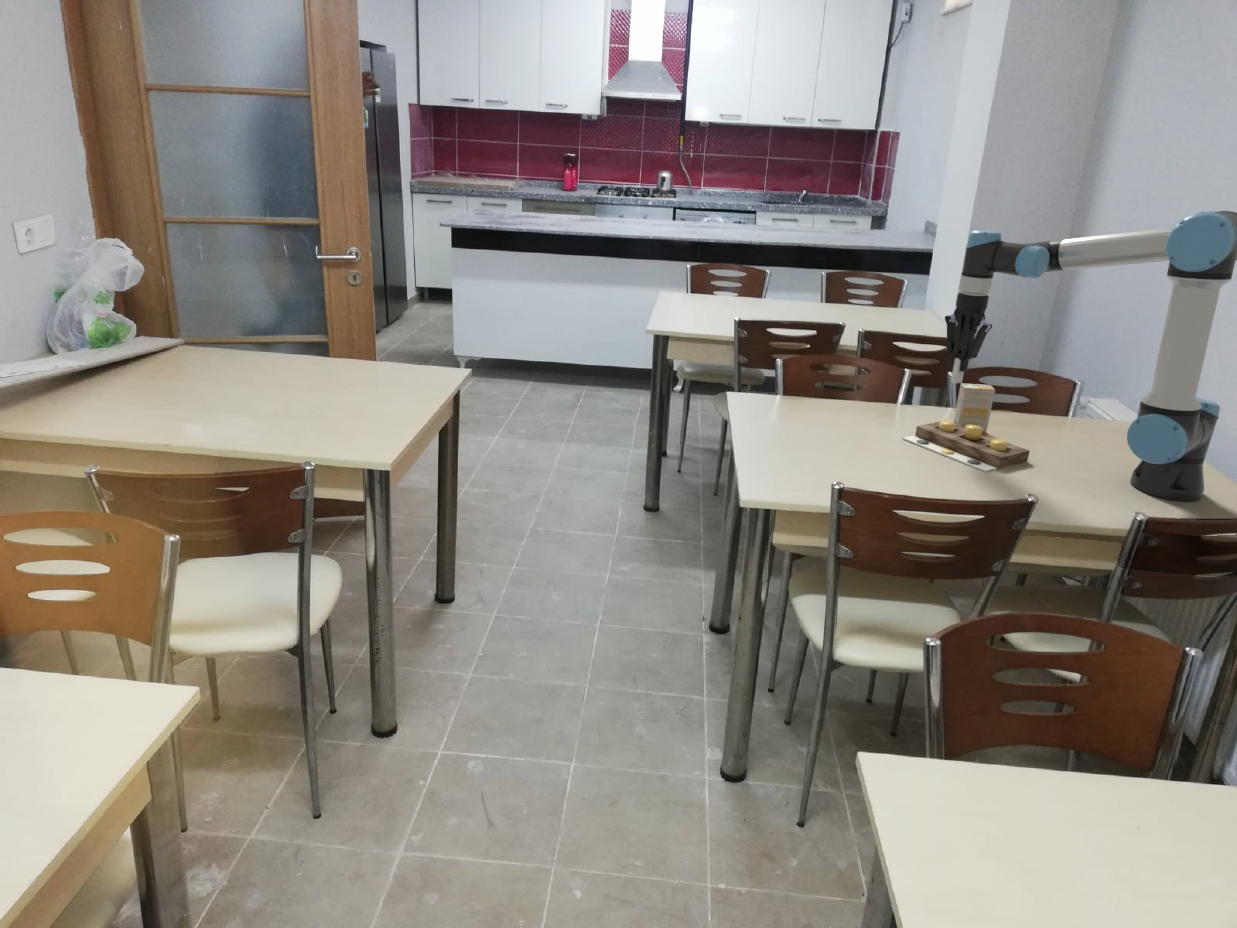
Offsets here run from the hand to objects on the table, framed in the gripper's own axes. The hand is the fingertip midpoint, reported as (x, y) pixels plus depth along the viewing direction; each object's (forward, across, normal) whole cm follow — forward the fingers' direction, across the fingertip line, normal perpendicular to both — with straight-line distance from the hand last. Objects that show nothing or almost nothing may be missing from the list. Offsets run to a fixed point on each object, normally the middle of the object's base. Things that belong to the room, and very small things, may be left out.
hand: (956, 382), depth 231 cm
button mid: (+13, -8, 0) cm, 15 cm away
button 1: (+14, 0, 0) cm, 14 cm away
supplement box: (+16, +2, -13) cm, 21 cm away
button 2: (+14, -16, 0) cm, 21 cm away
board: (+16, -8, 0) cm, 18 cm away
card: (+16, -8, +9) cm, 20 cm away
